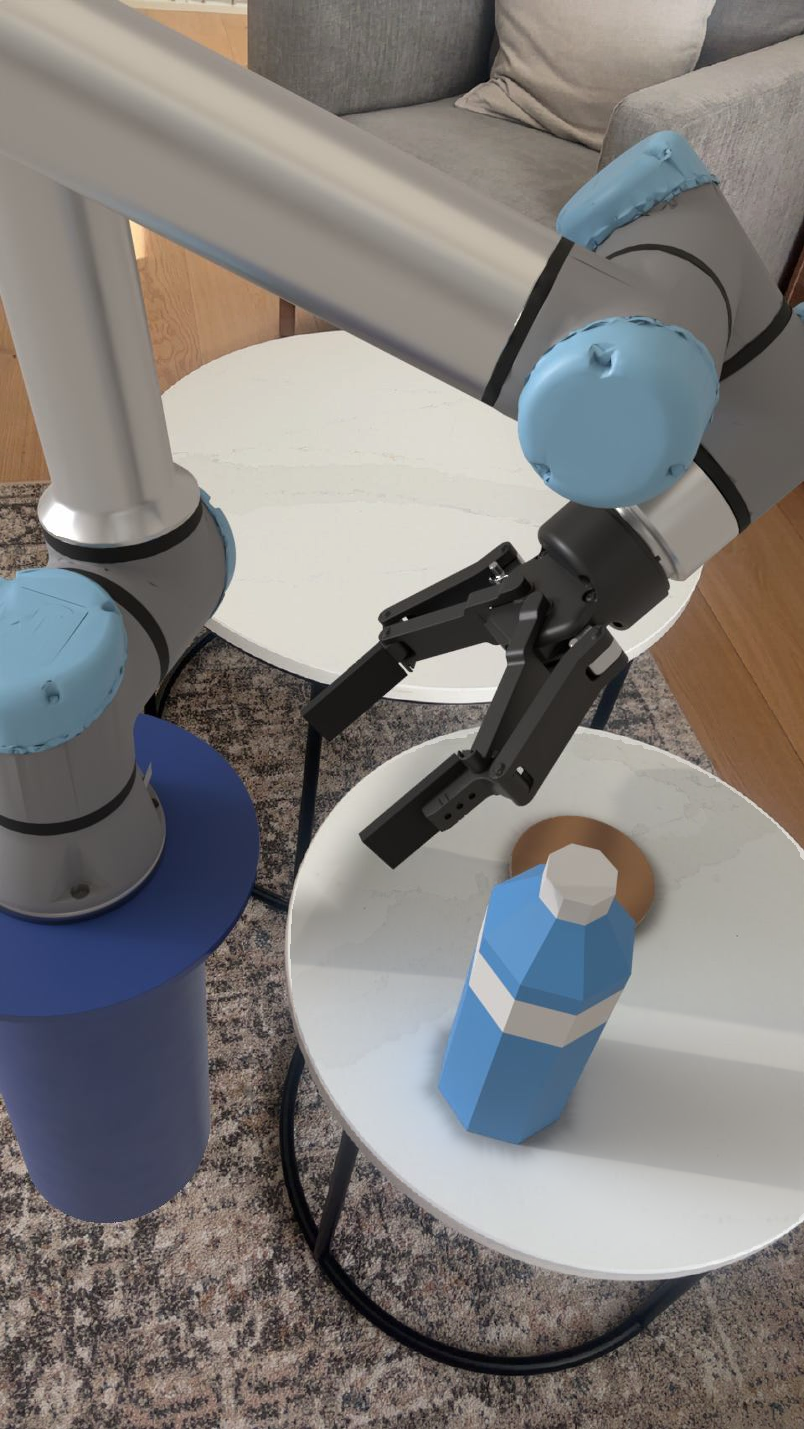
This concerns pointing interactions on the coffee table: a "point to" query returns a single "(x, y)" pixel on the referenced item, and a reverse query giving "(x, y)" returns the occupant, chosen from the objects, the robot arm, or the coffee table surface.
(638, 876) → the coaster
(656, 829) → the coffee table surface
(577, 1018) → the water bottle
